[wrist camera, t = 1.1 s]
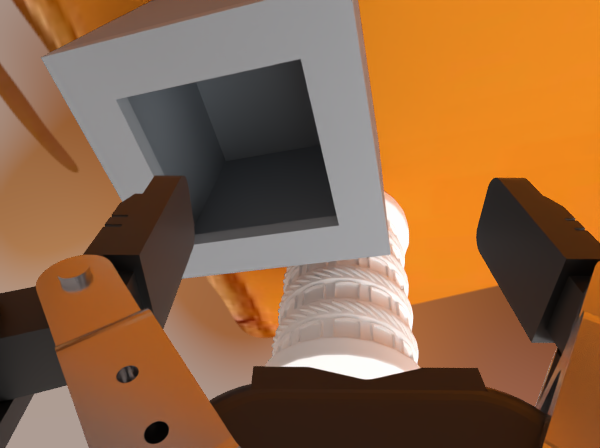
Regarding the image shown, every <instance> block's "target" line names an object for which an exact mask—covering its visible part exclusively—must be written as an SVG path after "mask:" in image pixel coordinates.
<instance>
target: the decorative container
mask: <svg viewBox="0 0 600 448" xmlns="http://www.w3.org/2000/svg"><path fill="white" fill-rule="evenodd" d="M384 197H385V206H386V215H387V224H388V233H389V242H390V251H391V255H383V256H375V257H366V258H357V259H349V260H340V261H331V262H323V263H314V264H305V265H296V266H288V267H287V272H286V273H285V274H284V276H285V279H284V280H283V282H284V284H285V285H284V287H283V289H284V295H283V296H282V301H281V302H280V303H279V306H280V309H279V310H278V312H279V316H278V319H279V320H278V322H279V326H278V328H277V330H276V335H275V337H273V340H274V343H273V344H272V347H273V351H272V354H273V355H272V357H271V358H270V359H269V360H268V362H267V364H266V365H265V366H267V367H311V368H316V369H320V370H325V371H329V372H334V373H338V374H342V375H347V376H351V377H356V378H360V379H375V378H379V377H384V376H388V375H392V374H397V373H401V372H406V371H410V370H415V369H419V368H420V367H419V365H418V364H417V362H418V347H417V342H416V340H415V337H414V336H413V333H412V324H413V312H412V307H411V304H410V302H409V300H408V298H407V296H408V289H409V284H408V279H407V275H406V273H405V271H404V265H405V257H404V256H405V253H406V250H407V247H408V245H409V229H408V223H407V220H406V217H405V214H404V211H403V209H402V208H401V207H400V205H399V204H398V203H397V202H396V200H395V199H394V198H393V197H391V196H390V195H389V194H387V193H386V192H385V191H384Z"/></svg>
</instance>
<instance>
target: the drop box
mask: <svg viewBox="0 0 600 448" xmlns="http://www.w3.org/2000/svg"><path fill="white" fill-rule="evenodd" d="M41 59H42V60H43V62H44V64H45V66H46V68H47V69H48V71H49V73H50V75H51V76H52V78H53V80H54V82H55V83H56V85H57V87H58V89H59V90H60V92H61V94H62V96H63V98H64V99H65V101H66V103H67V105H68V106H69V108H70V110H71V112H72V114H73V115H74V117H75V119H76V121H77V122H78V124H79V126H80V128H81V129H82V131H83V133H84V135H85V136H86V138H87V140H88V142H89V143H90V145H91V147H92V149H93V151H94V152H95V154H96V156H97V157H98V159H99V161H100V163H101V165H102V167H103V168H104V170H105V172H106V174H107V175H108V177H109V179H110V181H111V182H112V184H113V186H114V187H115V189H116V191H117V193H118V195H119V196H120V198H121V200H122V202H123V201H124V200H126V199H127V198H129V197H131V196H132V195H134V194H135V193H136V194H143V192H144V191H145V189H146V188H147V186H148V185H149V183H150V182H151V180H152V179H153V177H154V176H156V175H178V176H185V177H186V179H187V183H188V188H189V195H190V201H191V208H192V214H193V221H194V229H195V239H194V246H193V250H192V253H191V255H190V258H189V261H188V263H187V266H186V269H185V271H184V274H183V277H182V279H183V278H192V277H201V276H210V275H218V274H227V273H236V272H244V271H253V270H262V269H270V268H279V267H288V266H296V265H305V264H314V263H323V262H331V261H340V260H349V259H357V258H366V257H375V256H383V255H391V251H390V242H389V233H388V224H387V215H386V206H385V197H384V188H383V178H382V169H381V160H380V151H379V142H378V135H377V129H376V122H375V115H374V108H373V101H372V94H371V87H370V80H369V73H368V67H367V60H366V53H365V46H364V39H363V32H362V25H361V18H360V11H359V5H358V0H152V1H150V2H148V3H146V4H144V5H142V6H140V7H139V8H137V9H135V10H133V11H131V12H129V13H127V14H125V15H123V16H121V17H119V18H117V19H115V20H113V21H111V22H109V23H107V24H105V25H103V26H101V27H99V28H97V29H95V30H93V31H92V32H90V33H88V34H86V35H84V36H82V37H80V38H78V39H76V40H74V41H72V42H70V43H68V44H66V45H64V46H62V47H60V48H58V49H56V50H54V51H52V52H50V53H48V54H47V55H45V56H43V57H41Z"/></svg>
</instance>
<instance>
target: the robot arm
mask: <svg viewBox="0 0 600 448" xmlns="http://www.w3.org/2000/svg"><path fill="white" fill-rule="evenodd" d="M476 238H477V246H478V250H479V252H480V254H481V255H482V257H483V259H484V261H485V262H486V264H487V266H488V268H489V269H490V271H491V273H492V275H493V276H494V278H495V280H496V281H497V283H498V285H499V287H500V288H501V290H502V292H503V294H504V295H505V297H506V299H507V301H508V302H509V304H510V306H511V308H512V309H513V311H514V312H515V314H516V316H517V318H518V320H519V321H520V323H521V325H522V327H523V328H524V330H525V332H526V334H527V335H528V337H529V339H530V341H531V342H532V343H555V344H556V346H557V347H558V348H557V350H556V352H555V354H554V356H553V358H552V361H551V364H550V367H549V370H548V372H547V375H546V378H545V381H544V383H543V386H542V389H541V392H540V395H539V397H538V400H537V403H536V406H535V407H534V406H532V405H530V404H529V403H527V402H525V401H523V400H521V399H519V398H517V397H514V396H512V395H509V394H507V393H504V392H501V391H498V390H495V389H492V388H488V387H485V385H484V382H483V380H482V378H481V375H480V373H479V370H478V368H419V369H415V370H410V371H406V372H401V373H397V374H392V375H388V376H384V377H379V378H375V379H360V378H356V377H351V376H347V375H342V374H338V373H334V372H329V371H325V370H320V369H316V368H311V367H267V366H264V367H263V366H262V367H261V366H255V367H254V368H253V375H252V384H249V385H245V386H241V387H238V388H235V389H232V390H230V391H227V392H225V393H223V394H221V395H219V396H217V397H215V398H213V399H212V400H210V401H209V400H208V398H207V397H206V395H205V394H204V392H203V391H202V389H201V388H200V386H199V385H198V383H197V381H196V380H195V378H194V377H193V375H192V374H191V372H190V371H189V369H188V368H187V366H186V364H185V363H184V361H183V360H182V358H181V357H180V355H179V354H178V352H177V350H176V349H175V348H174V346H173V345H172V343H171V341H170V340H169V338H168V337H167V335H166V333H165V332H164V330H163V328H164V325H165V323H166V320H167V317H168V314H169V312H170V309H171V307H172V304H173V301H174V298H175V296H176V293H177V290H178V288H179V285H180V282H181V280H182V277H183V274H184V271H185V269H186V266H187V263H188V261H189V258H190V255H191V253H192V250H193V246H194V239H195V229H194V221H193V214H192V208H191V201H190V195H189V188H188V183H187V179H186V177H185V176H178V175H156V176H154V177H153V179H152V180H151V182H150V183H149V185H148V186H147V188H146V189H145V191H144V192H143V194H136V193H135V194H134V195H132V196H131V197H129V198H127V199H126V200H124V201H123V202H121V203H120V204H119V205H118V207H117V208H116V210H115V211H114V212H113V214H112V217H110V218H109V219H108V221H107V222H106V224H105V227H103V228H102V229H101V230H100V232H99V233H98V235H97V236H96V237H95V239H94V240H93V242H92V243H91V244H90V246H89V247H88V249H87V250H86V251H85V253H84V254H83V255H80V256H75V257H71V258H67V259H65V260H62V261H60V262H58V263H56V264H54V265H52V266H51V267H49V268H48V269H47V270H45V271H44V272H43V273H42V274H41V275H40V277H39V278H38V280H37V282H36V286H35V287H31V288H26V289H21V290H15V291H11V292H5V293H0V448H5V447H6V445H7V443H8V442H9V440H10V438H11V436H12V434H13V432H14V430H15V428H16V427H17V425H18V423H19V421H20V419H21V417H22V415H23V414H24V412H25V410H26V408H27V406H28V404H29V402H30V400H31V399H32V397H33V395H34V394H35V393H39V392H42V391H46V390H50V389H54V388H58V387H62V386H66V385H67V386H68V389H69V392H70V394H71V397H72V400H73V403H74V406H75V409H76V412H77V415H78V418H79V420H80V423H81V426H82V429H83V432H84V435H85V438H86V441H87V443H88V446H89V448H600V243H599V242H598V241H597V240H596V239H595V238H594V237H593V236H592V235H591V234H590V233H589V232H588V231H585V228H584V227H583V226H582V225H581V224H580V223H579V222H578V221H575V218H574V217H573V216H572V215H571V214H570V213H569V212H568V211H567V210H566V209H565V208H564V207H563V206H561V205H559V204H558V203H556V202H554V201H552V200H551V199H549V198H547V197H545V196H543V195H542V194H541V193H540V192H539V191H538V190H537V189H536V188H535V187H534V186H533V185H532V184H531V183H530V182H529V181H528V180H527V179H525V178H494V179H492V181H491V182H490V184H489V186H488V190H487V194H486V197H485V201H484V205H483V209H482V212H481V216H480V220H479V224H478V228H477V236H476Z"/></svg>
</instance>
